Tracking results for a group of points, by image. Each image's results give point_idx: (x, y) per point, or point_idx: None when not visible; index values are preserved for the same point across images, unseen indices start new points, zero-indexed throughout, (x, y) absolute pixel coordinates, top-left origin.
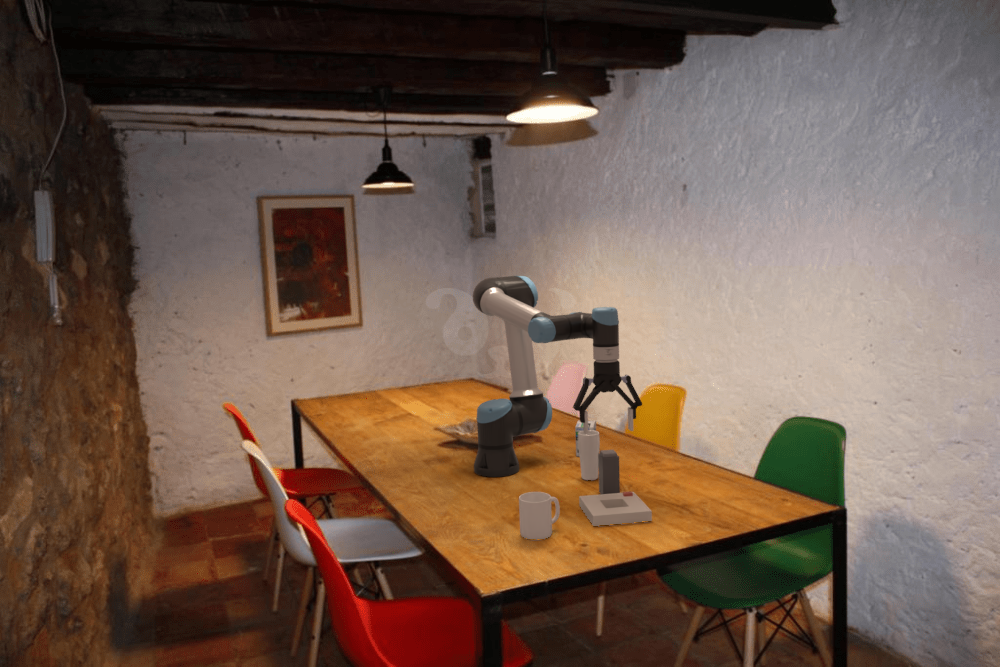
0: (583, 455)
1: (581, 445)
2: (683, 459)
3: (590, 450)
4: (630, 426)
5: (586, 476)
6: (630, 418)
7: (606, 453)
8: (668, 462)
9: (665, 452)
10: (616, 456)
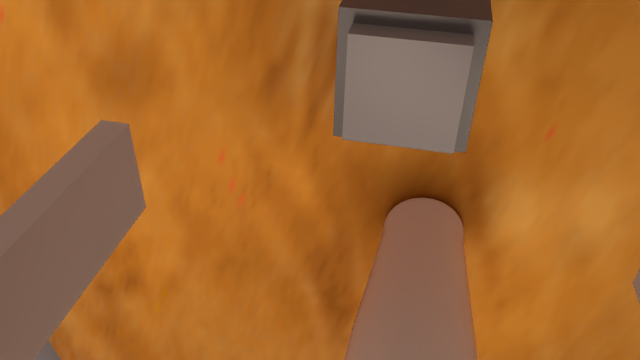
0: (463, 298)
1: (472, 352)
2: None
3: (427, 302)
4: (105, 163)
5: (451, 217)
6: (41, 220)
7: (439, 57)
8: None
9: (66, 343)
10: (356, 24)
